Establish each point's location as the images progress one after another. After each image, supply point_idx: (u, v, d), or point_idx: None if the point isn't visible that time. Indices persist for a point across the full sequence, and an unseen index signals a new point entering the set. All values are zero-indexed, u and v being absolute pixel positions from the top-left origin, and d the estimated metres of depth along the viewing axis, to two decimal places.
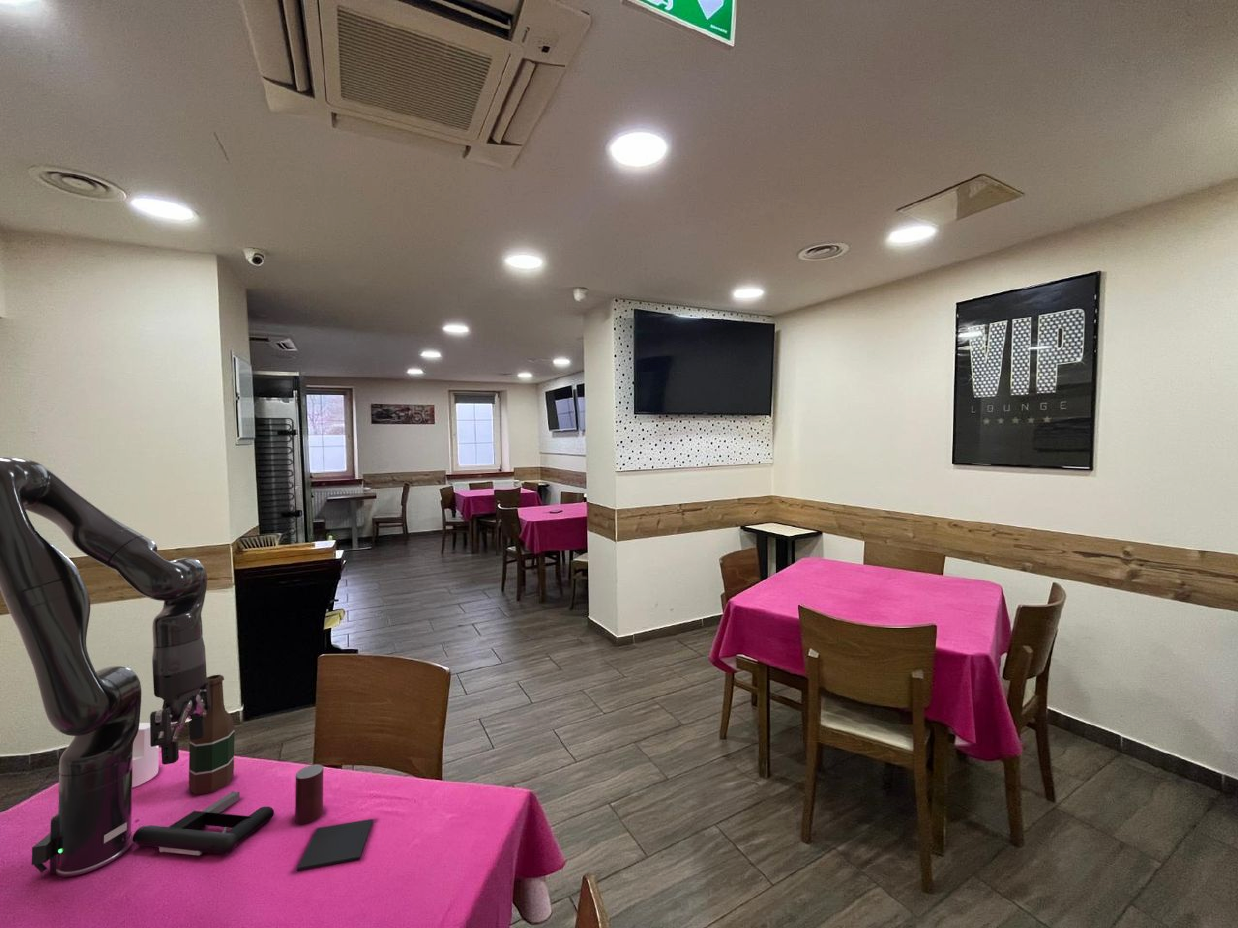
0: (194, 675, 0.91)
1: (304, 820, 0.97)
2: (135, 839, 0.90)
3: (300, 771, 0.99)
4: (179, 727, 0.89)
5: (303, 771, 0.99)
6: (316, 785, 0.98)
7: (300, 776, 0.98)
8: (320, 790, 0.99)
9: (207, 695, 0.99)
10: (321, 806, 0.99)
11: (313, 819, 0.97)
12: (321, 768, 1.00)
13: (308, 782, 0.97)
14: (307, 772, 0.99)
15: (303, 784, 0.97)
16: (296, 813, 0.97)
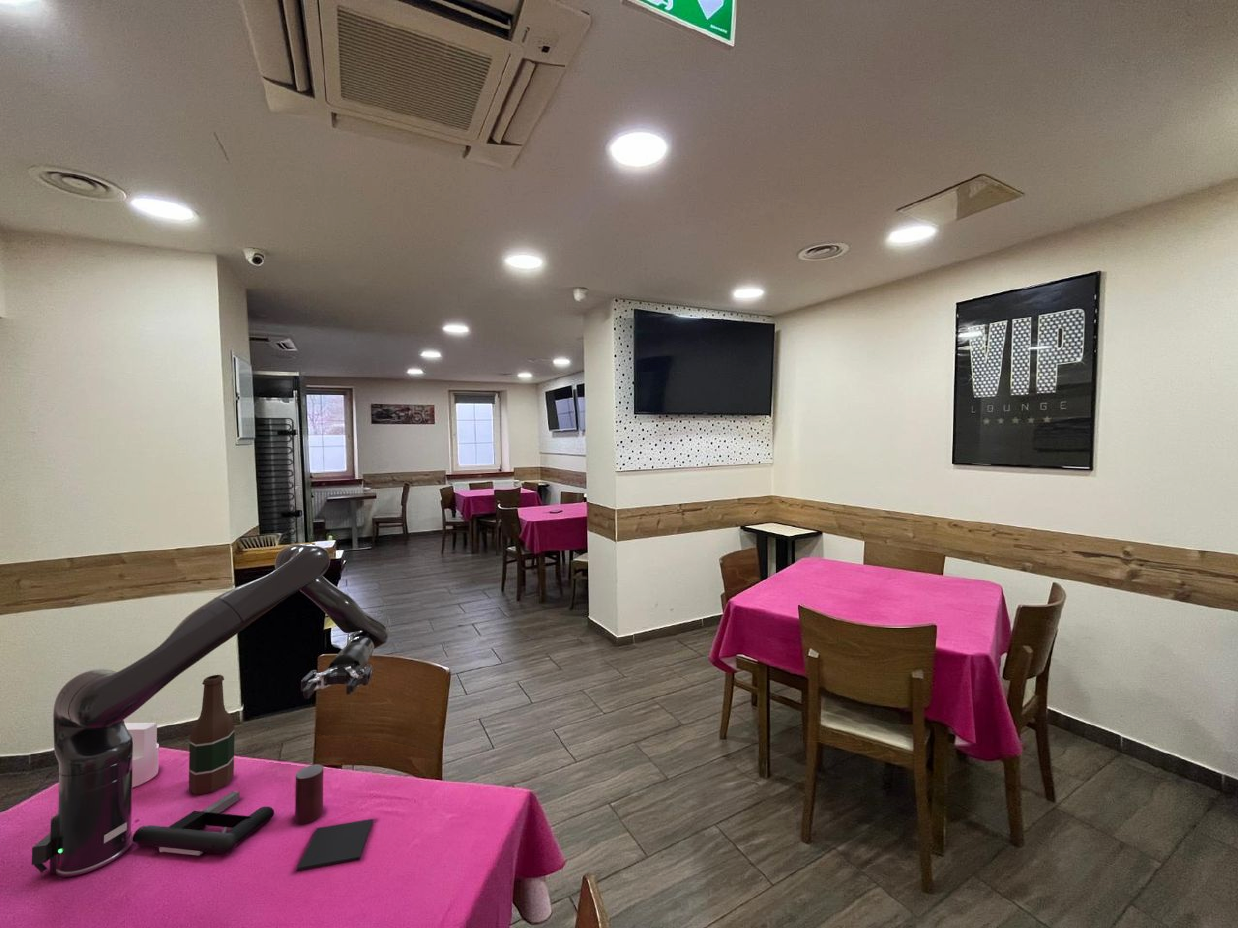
0: None
1: (304, 820, 0.97)
2: (135, 839, 0.90)
3: (300, 771, 0.99)
4: None
5: (303, 771, 0.99)
6: (316, 785, 0.98)
7: (300, 776, 0.98)
8: (320, 790, 0.99)
9: None
10: (321, 806, 0.99)
11: (313, 819, 0.97)
12: (321, 768, 1.00)
13: (308, 782, 0.97)
14: (307, 772, 0.99)
15: (303, 784, 0.97)
16: (296, 813, 0.97)
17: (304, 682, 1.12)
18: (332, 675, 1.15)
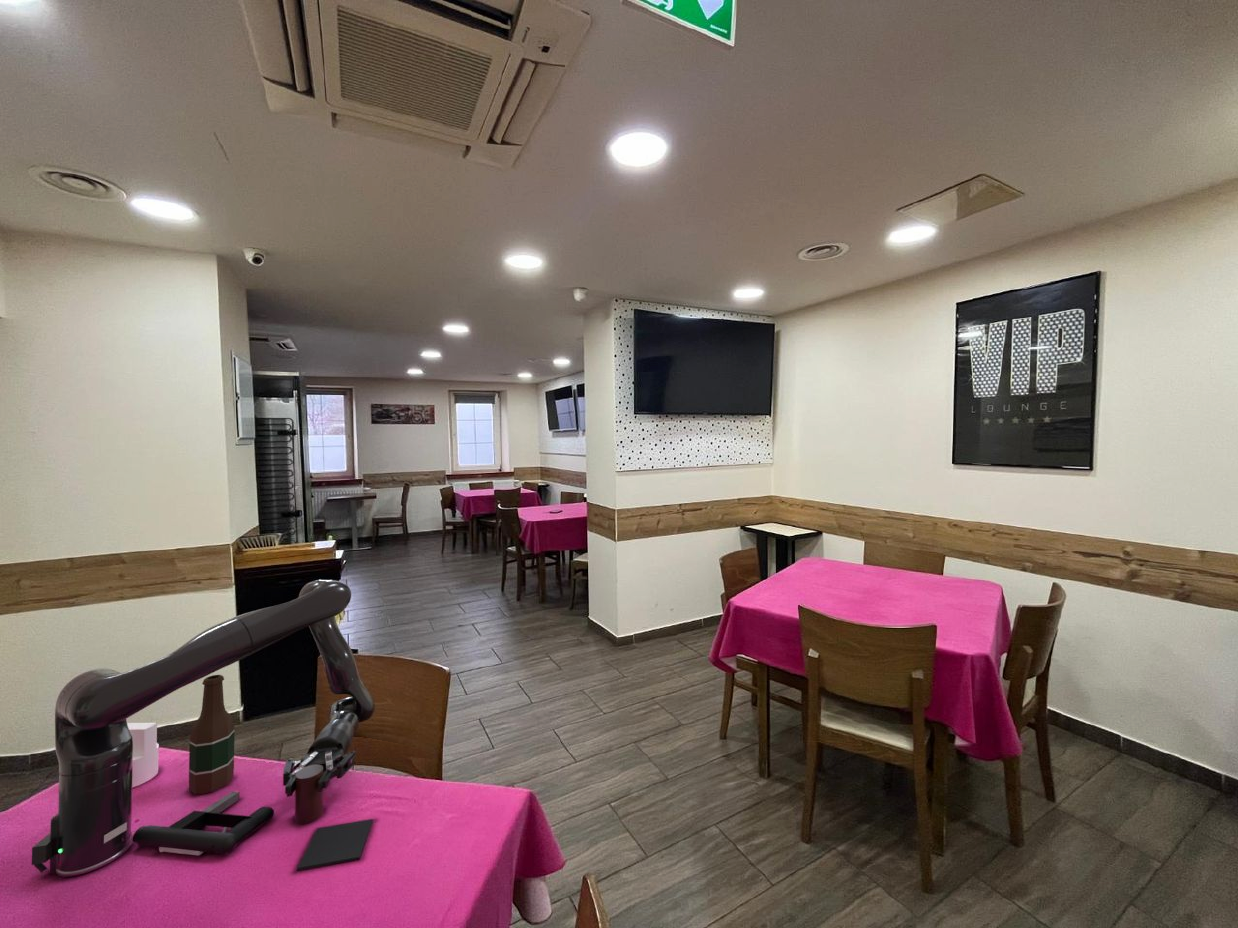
0: None
1: (304, 820, 0.97)
2: (135, 839, 0.90)
3: (300, 771, 0.99)
4: None
5: (303, 771, 0.99)
6: (316, 785, 0.98)
7: (300, 776, 0.98)
8: None
9: None
10: (321, 806, 0.99)
11: (313, 819, 0.97)
12: (321, 768, 1.00)
13: (308, 782, 0.97)
14: (307, 772, 0.99)
15: (303, 784, 0.97)
16: (296, 813, 0.97)
17: (288, 774, 1.00)
18: (312, 763, 1.03)
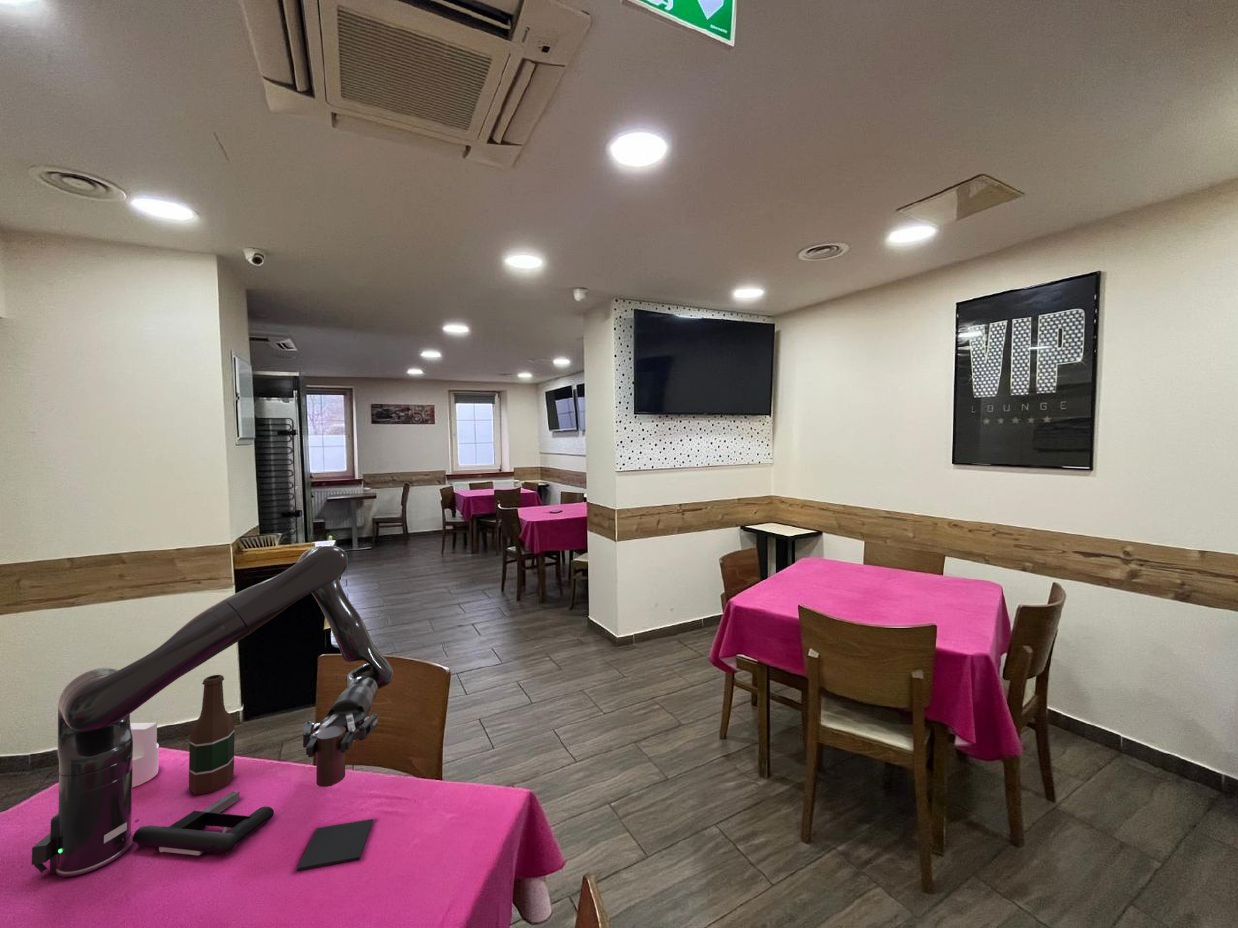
0: None
1: (326, 782, 0.91)
2: (135, 839, 0.90)
3: (321, 732, 0.94)
4: None
5: (324, 732, 0.94)
6: (339, 746, 0.93)
7: (322, 736, 0.92)
8: None
9: None
10: (343, 769, 0.94)
11: (335, 782, 0.92)
12: (343, 729, 0.95)
13: (330, 742, 0.92)
14: (329, 733, 0.94)
15: (325, 745, 0.92)
16: (317, 775, 0.92)
17: (308, 735, 0.95)
18: (333, 725, 0.98)
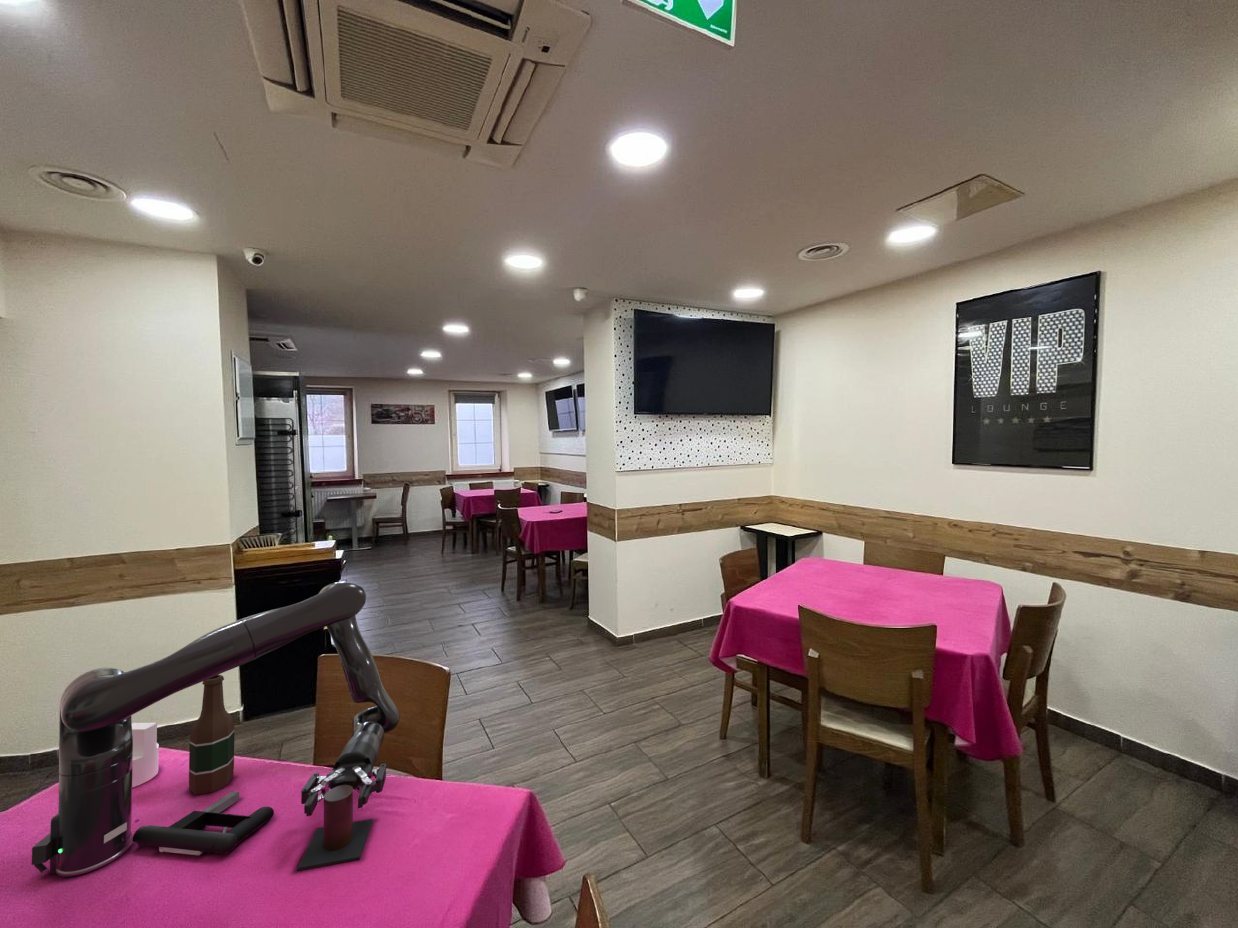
0: None
1: (333, 846, 0.89)
2: (135, 839, 0.90)
3: (328, 793, 0.92)
4: None
5: (332, 793, 0.92)
6: (346, 808, 0.91)
7: (329, 798, 0.90)
8: (350, 814, 0.91)
9: None
10: (351, 830, 0.92)
11: (343, 845, 0.90)
12: (351, 789, 0.93)
13: (337, 805, 0.90)
14: (336, 794, 0.91)
15: (332, 807, 0.89)
16: (325, 839, 0.90)
17: (305, 792, 0.93)
18: (339, 780, 0.96)
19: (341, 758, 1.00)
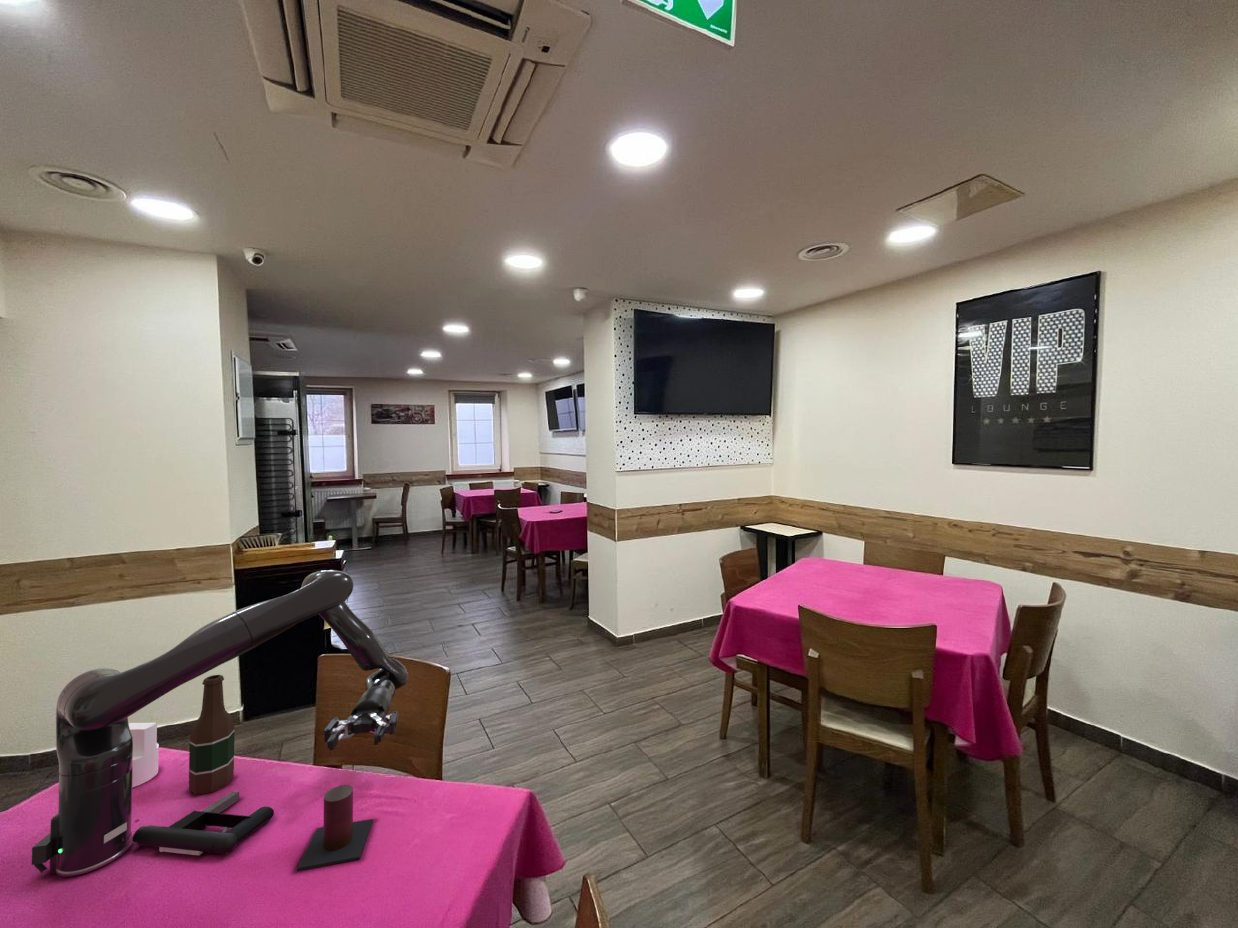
0: None
1: (333, 846, 0.89)
2: (135, 839, 0.90)
3: (328, 793, 0.92)
4: None
5: (332, 793, 0.92)
6: (346, 808, 0.91)
7: (329, 798, 0.90)
8: (350, 814, 0.91)
9: None
10: (351, 830, 0.92)
11: (343, 845, 0.90)
12: (351, 789, 0.93)
13: (337, 805, 0.90)
14: (336, 794, 0.91)
15: (332, 807, 0.89)
16: (325, 839, 0.90)
17: (328, 731, 1.05)
18: (357, 723, 1.08)
19: (358, 705, 1.13)
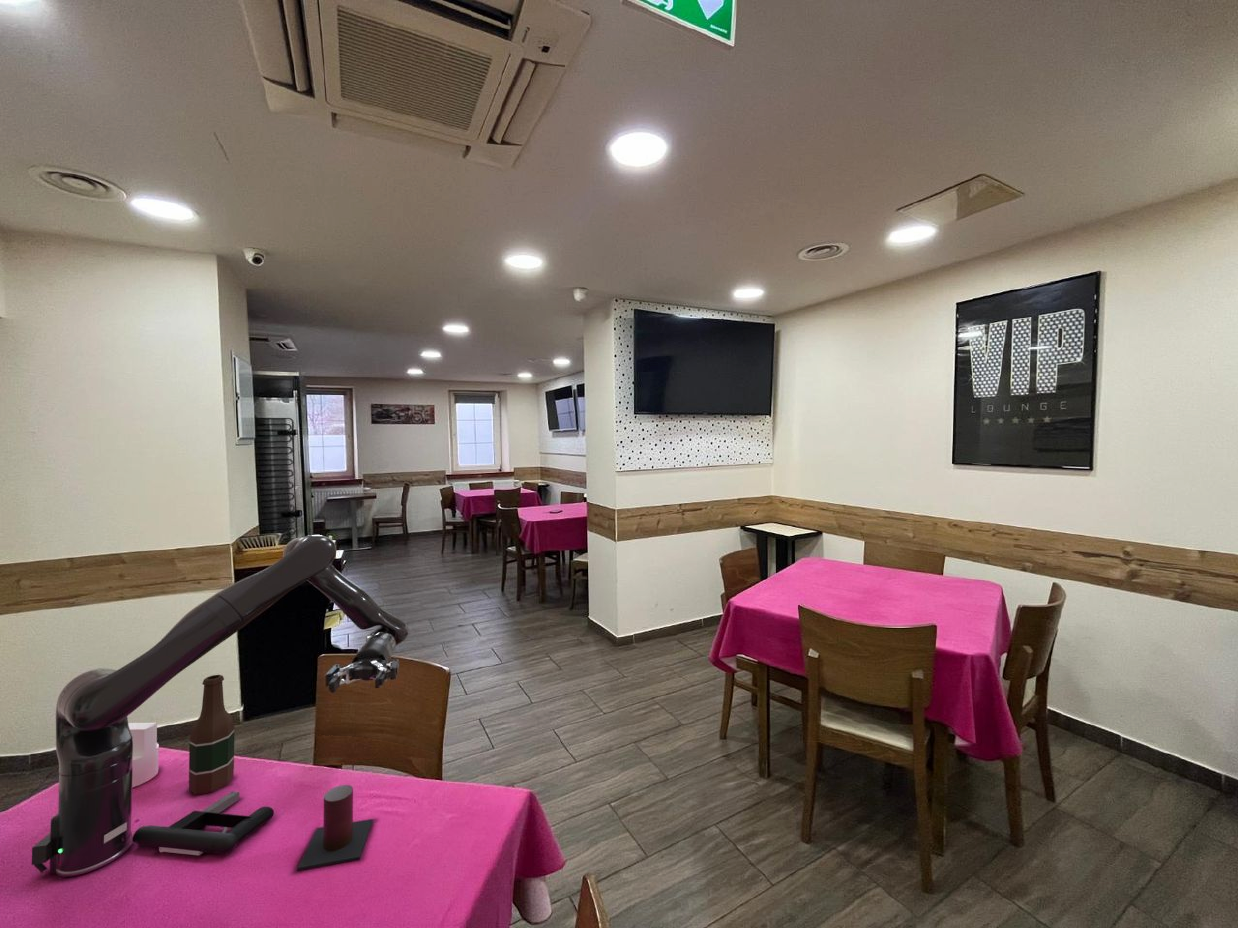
0: None
1: (333, 846, 0.89)
2: (135, 839, 0.90)
3: (328, 793, 0.92)
4: None
5: (332, 793, 0.92)
6: (346, 808, 0.91)
7: (329, 798, 0.90)
8: (350, 814, 0.91)
9: None
10: (351, 830, 0.92)
11: (343, 845, 0.90)
12: (351, 789, 0.93)
13: (337, 805, 0.90)
14: (336, 794, 0.91)
15: (332, 807, 0.89)
16: (325, 839, 0.90)
17: (329, 676, 1.05)
18: (358, 669, 1.09)
19: (359, 654, 1.13)
